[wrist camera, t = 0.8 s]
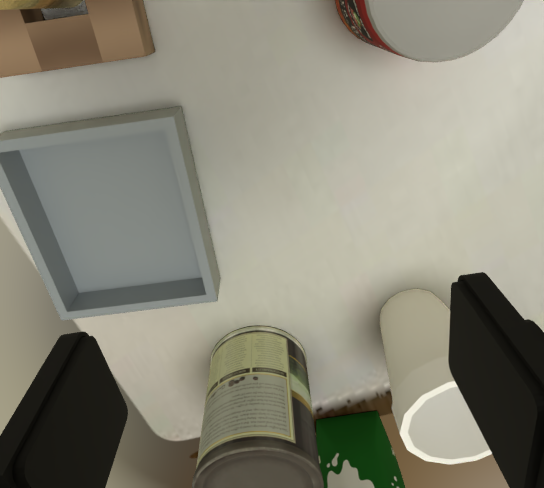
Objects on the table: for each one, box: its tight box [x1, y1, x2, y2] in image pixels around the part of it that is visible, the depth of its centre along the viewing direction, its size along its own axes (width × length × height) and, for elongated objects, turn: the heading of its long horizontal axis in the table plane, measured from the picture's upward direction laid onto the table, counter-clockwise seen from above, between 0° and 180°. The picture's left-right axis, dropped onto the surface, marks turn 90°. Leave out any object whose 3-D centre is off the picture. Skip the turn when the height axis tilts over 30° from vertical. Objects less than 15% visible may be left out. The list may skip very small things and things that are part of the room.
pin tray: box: [0, 106, 220, 320], centre depth 36 cm, size 16×14×4 cm
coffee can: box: [192, 326, 324, 488], centre depth 40 cm, size 10×10×14 cm
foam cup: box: [379, 289, 492, 464], centre depth 38 cm, size 10×9×13 cm
